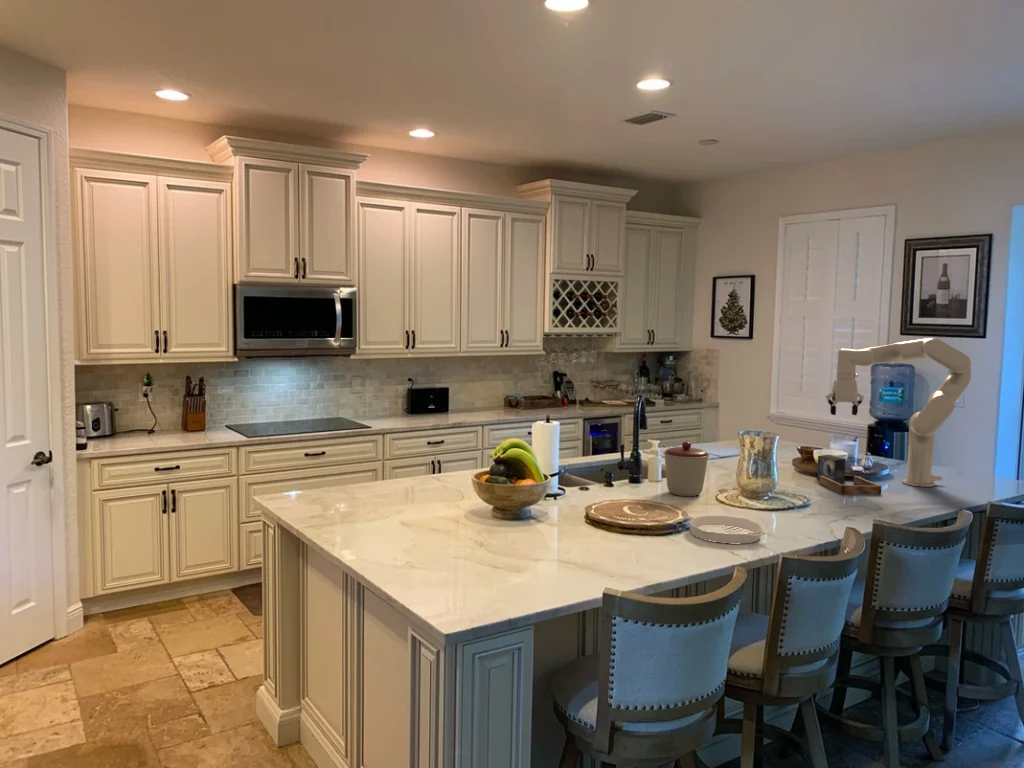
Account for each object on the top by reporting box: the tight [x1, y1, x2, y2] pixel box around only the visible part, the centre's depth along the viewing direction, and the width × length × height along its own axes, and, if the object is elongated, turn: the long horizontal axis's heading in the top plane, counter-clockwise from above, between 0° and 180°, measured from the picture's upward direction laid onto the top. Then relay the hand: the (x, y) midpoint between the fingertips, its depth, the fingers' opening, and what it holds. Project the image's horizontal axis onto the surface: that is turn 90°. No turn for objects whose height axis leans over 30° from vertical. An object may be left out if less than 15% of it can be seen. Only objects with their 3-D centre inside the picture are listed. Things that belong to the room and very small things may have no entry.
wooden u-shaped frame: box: [819, 475, 882, 495], centre depth 324 cm, size 16×20×4 cm
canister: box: [662, 441, 710, 497], centre depth 309 cm, size 18×18×21 cm
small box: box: [816, 454, 847, 484], centre depth 341 cm, size 11×6×10 cm, turn 21°
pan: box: [686, 515, 767, 544], centre depth 258 cm, size 24×41×4 cm, turn 42°
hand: (843, 414), depth 346 cm, fingers open, 9 cm apart
